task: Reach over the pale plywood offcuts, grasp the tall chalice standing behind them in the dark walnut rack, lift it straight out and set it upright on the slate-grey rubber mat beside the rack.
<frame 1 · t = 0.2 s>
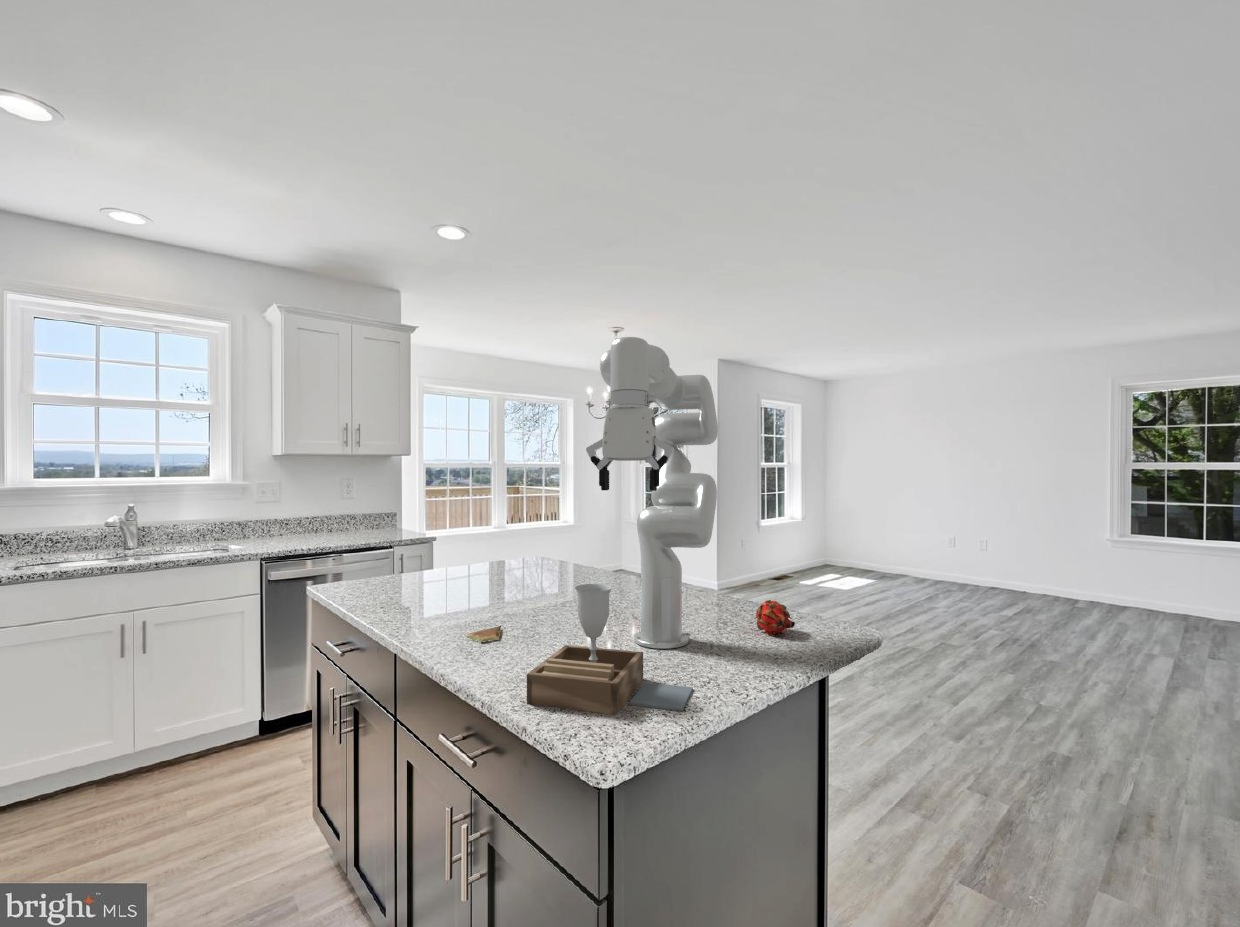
hand: (629, 490, 112), 36 cm above the countertop, tool pointing down, fingers open, 9 cm apart
shard: (483, 639, 140), on the countertop
offcut stack: (577, 702, 100), resting in rack
rack: (588, 690, 105), on the countertop
mat: (662, 696, 102), on the countertop
dragon fruit: (774, 634, 143), on the countertop
chalice: (593, 686, 107), resting in rack
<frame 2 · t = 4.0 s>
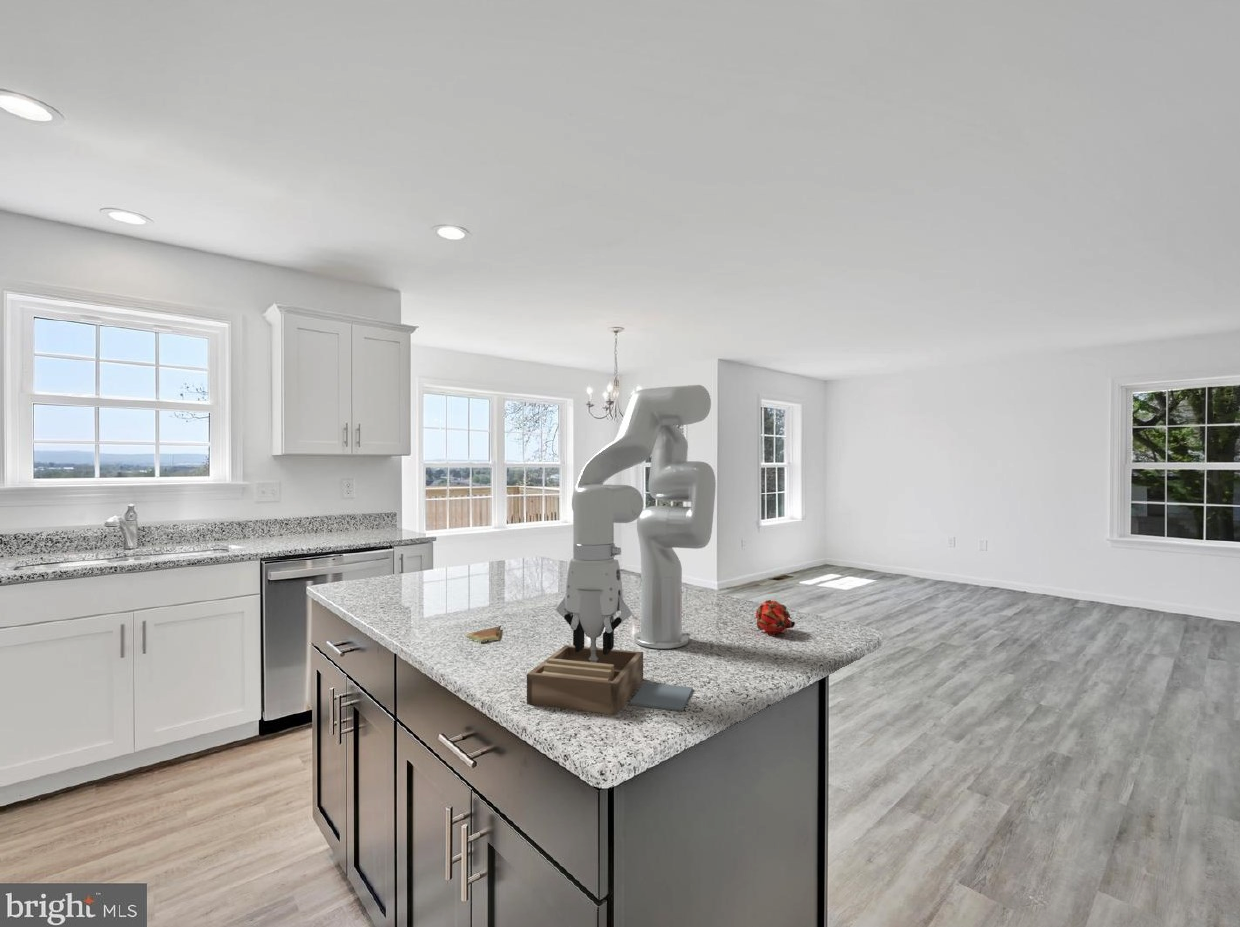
hand: (593, 650, 108), 6 cm above the countertop, tool pointing down, fingers closed on chalice, 4 cm apart
chalice: (593, 686, 107), resting in rack, touching gripper
everything else where it was.
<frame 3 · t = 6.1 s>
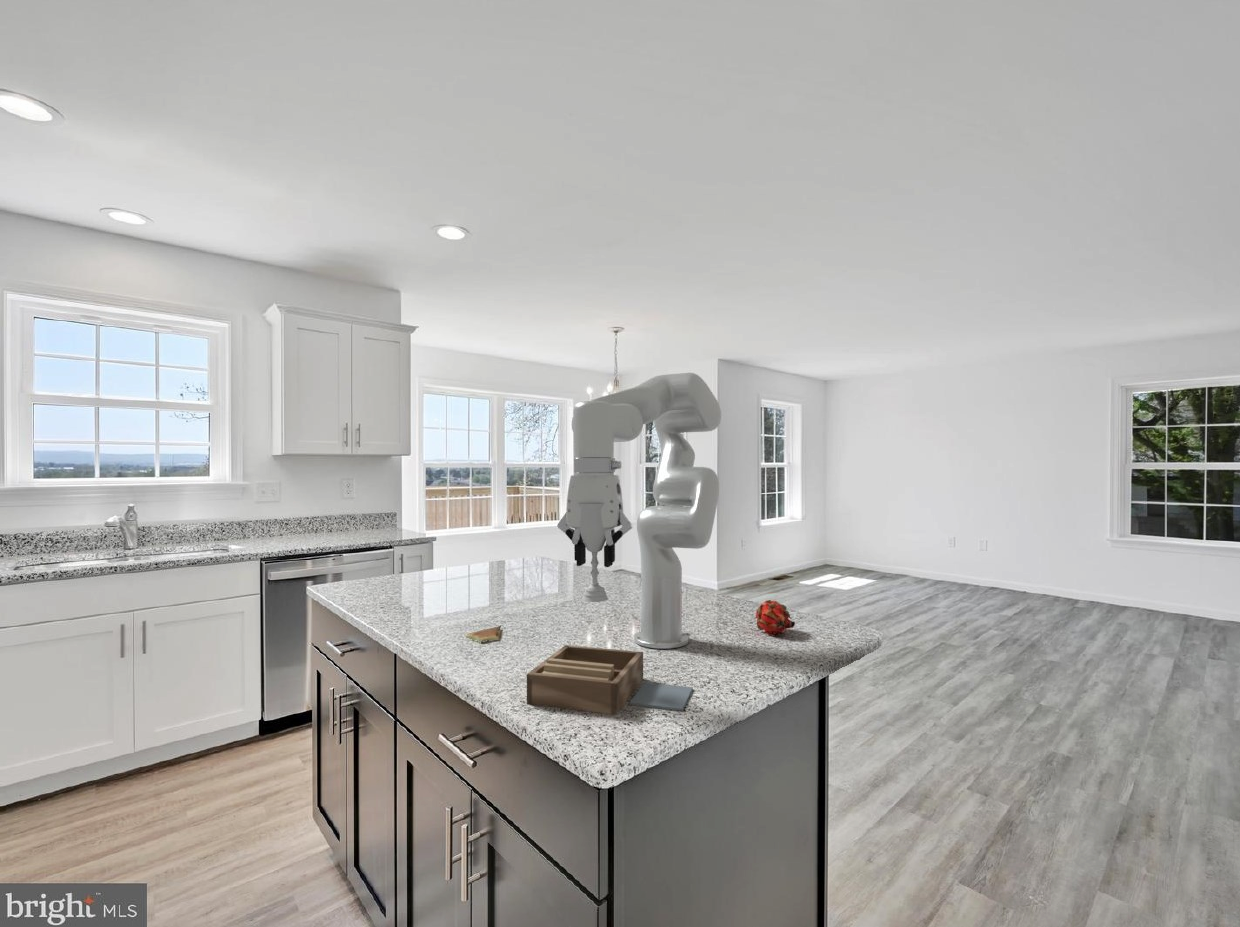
hand: (594, 564, 108), 22 cm above the countertop, tool pointing down, fingers closed on chalice, 4 cm apart
chalice: (595, 599, 108), point 16 cm above the countertop, touching gripper
everything else where it was.
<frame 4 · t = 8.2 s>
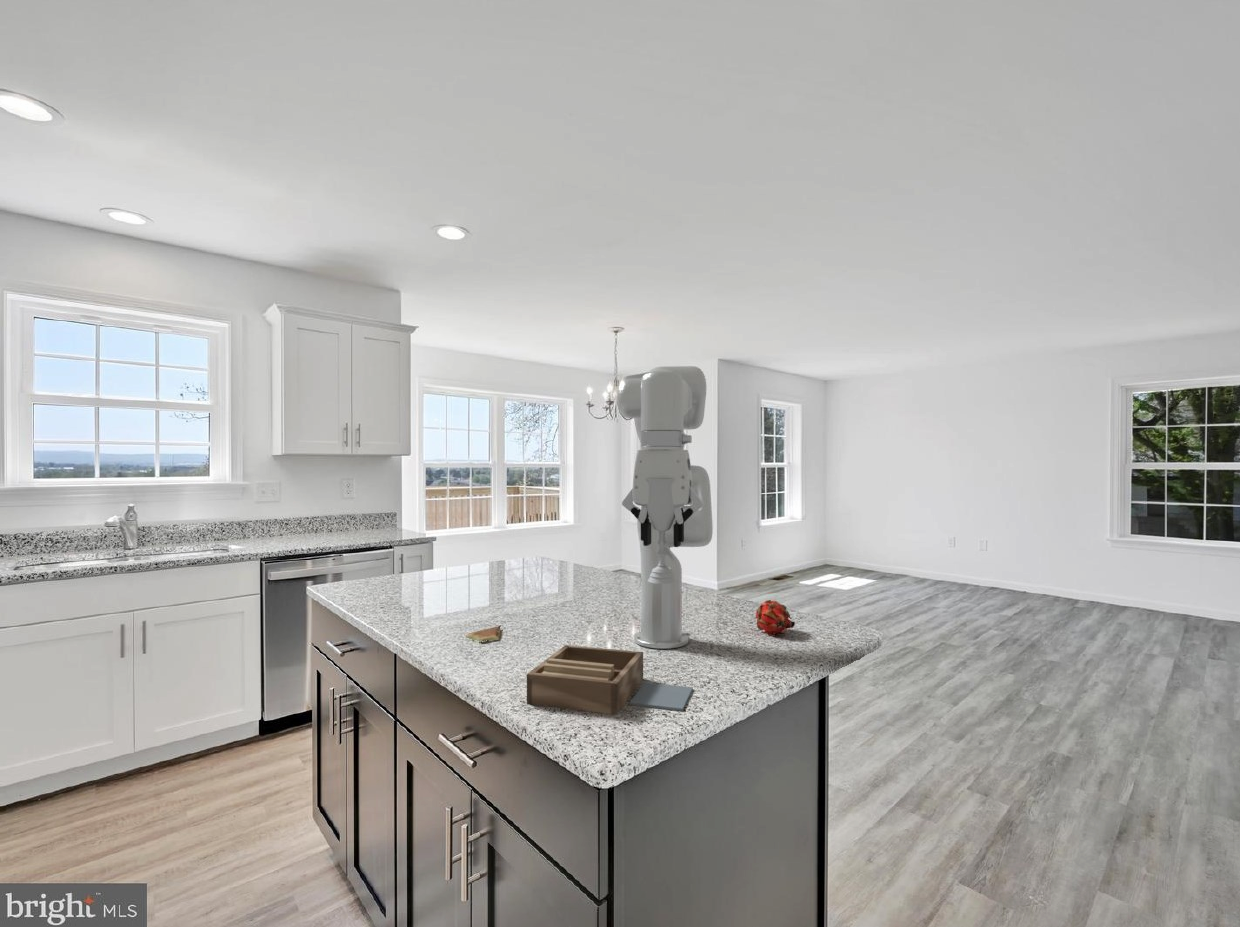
hand: (662, 544, 102), 27 cm above the countertop, tool pointing down, fingers closed on chalice, 4 cm apart
chalice: (662, 582, 102), point 20 cm above the countertop, touching gripper
everything else where it was.
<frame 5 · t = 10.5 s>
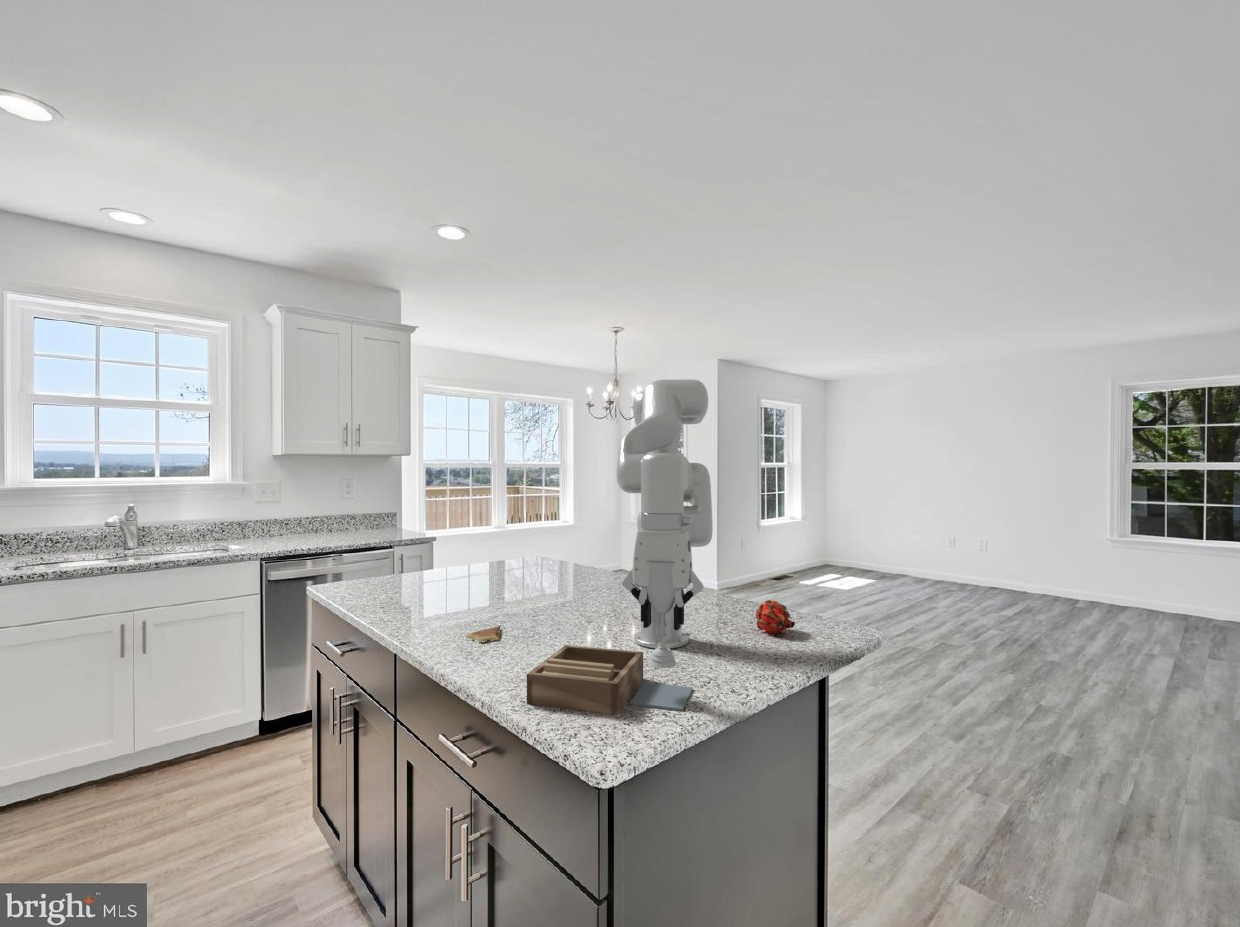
hand: (662, 626, 102), 12 cm above the countertop, tool pointing down, fingers closed on chalice, 4 cm apart
chalice: (662, 664, 102), point 6 cm above the countertop, touching gripper
everything else where it was.
when the fingers open (8 cm above the countertop, at t = 12.4 s): chalice moves 1 cm, resting on mat.
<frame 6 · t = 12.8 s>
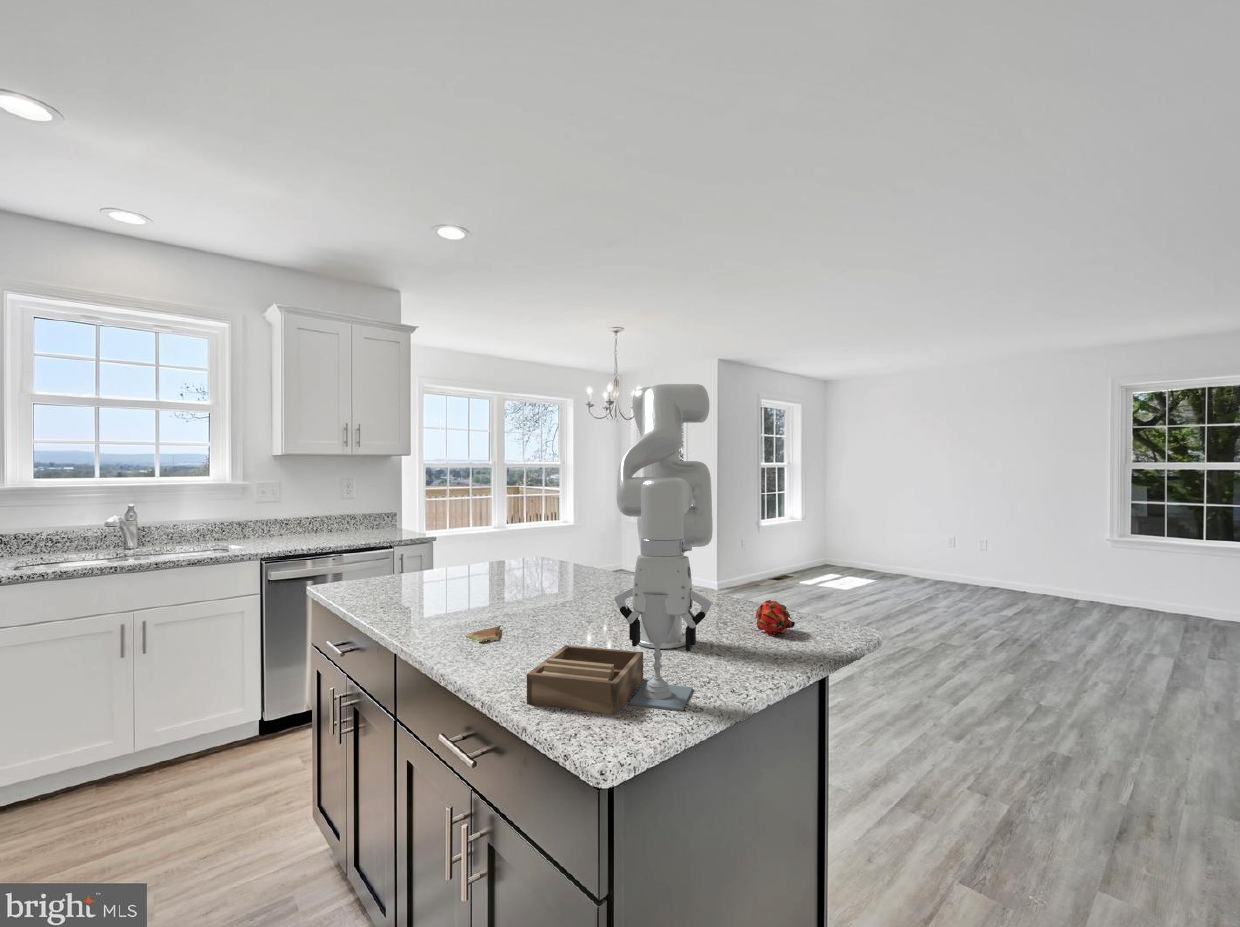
hand: (662, 646, 102), 9 cm above the countertop, tool pointing down, fingers open, 9 cm apart
chalice: (657, 694, 102), resting on mat
everything else where it was.
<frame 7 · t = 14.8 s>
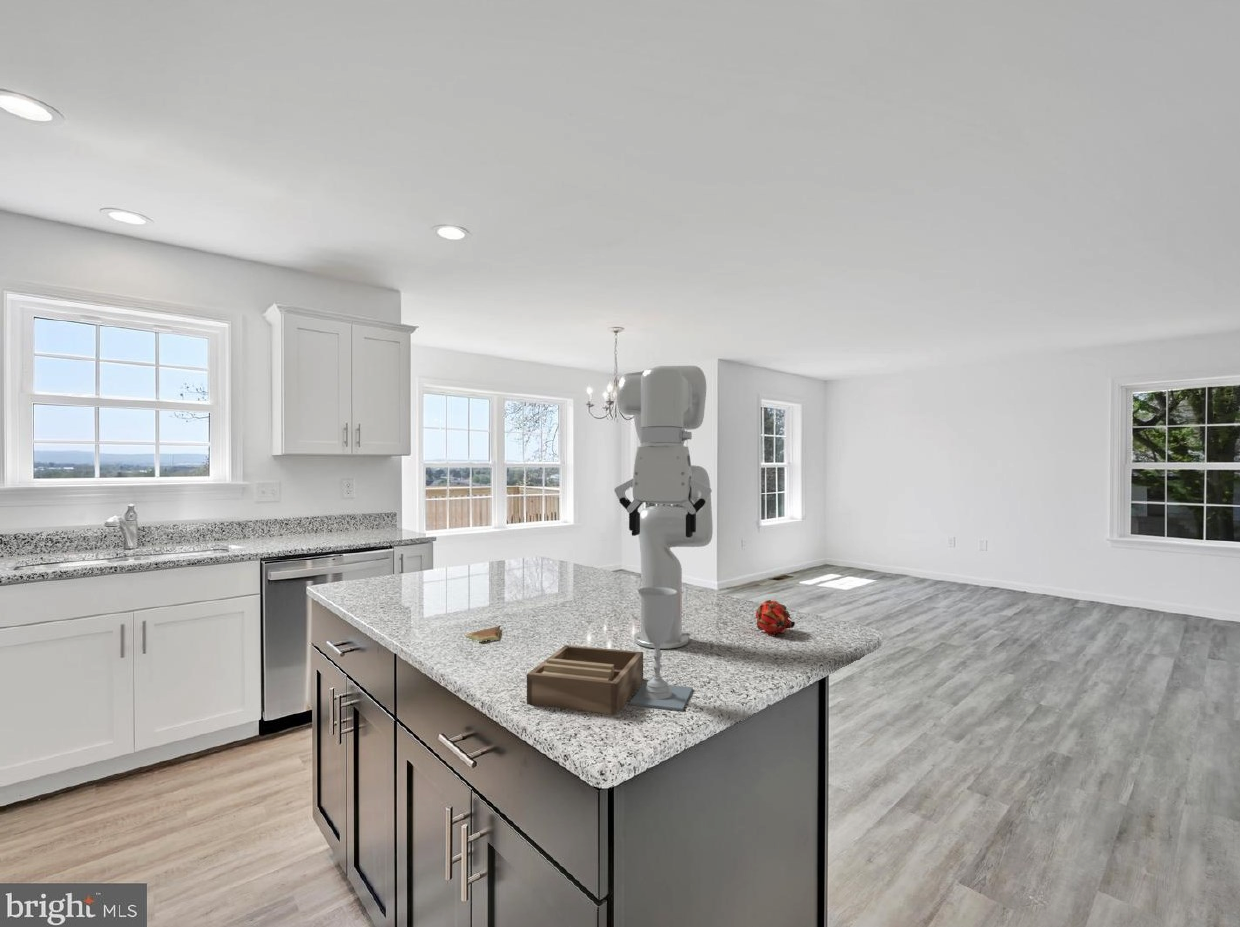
hand: (662, 535, 102), 28 cm above the countertop, tool pointing down, fingers open, 9 cm apart
nothing on the countertop moved.
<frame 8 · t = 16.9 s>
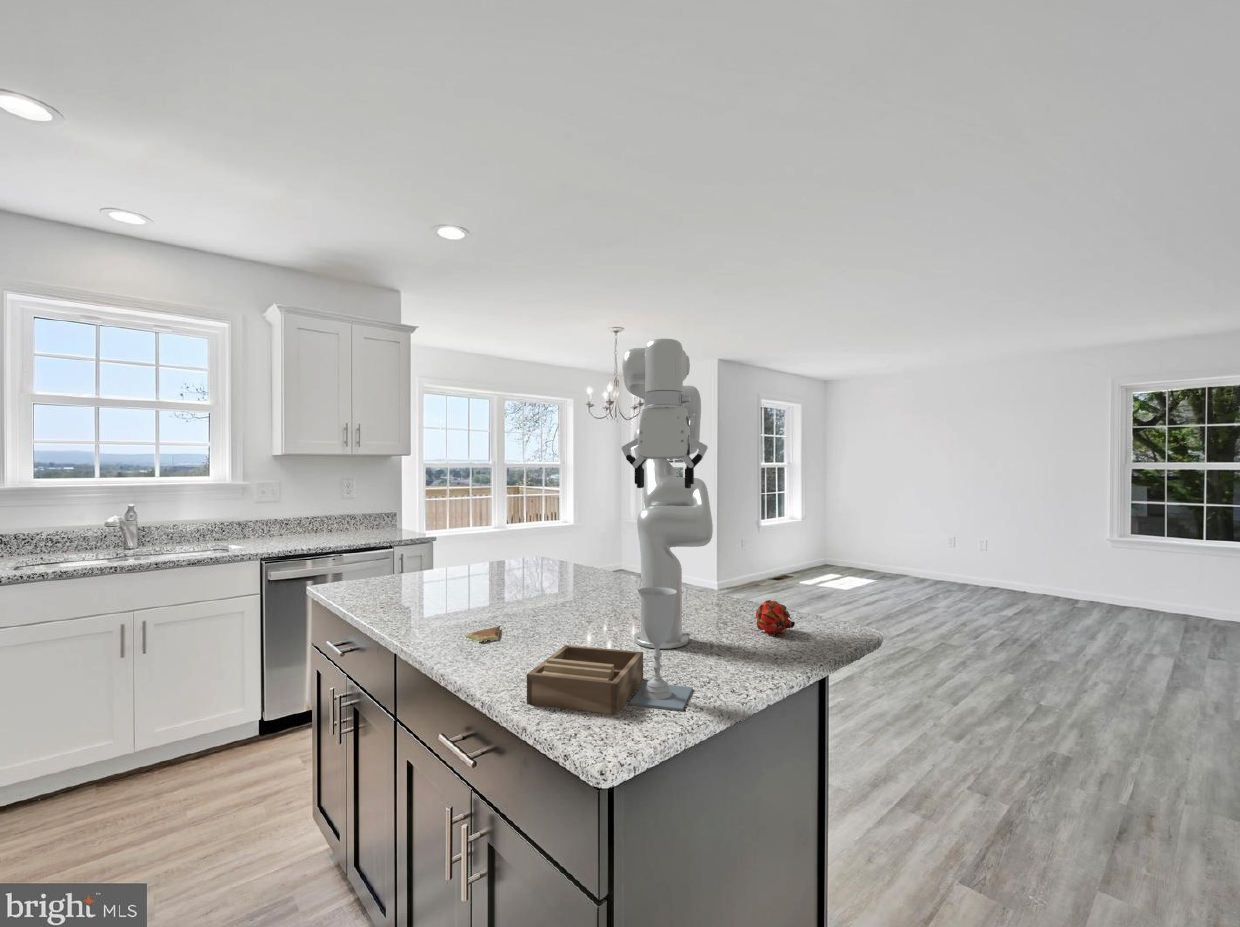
hand: (663, 488, 116), 36 cm above the countertop, tool pointing down, fingers open, 9 cm apart
nothing on the countertop moved.
at the end: chalice inside the target area on the mat (1.0 cm from its centre), point 0.2 cm above the mat's base; chalice tilted 0°; offcut stack moved 0.2 cm from its start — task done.
